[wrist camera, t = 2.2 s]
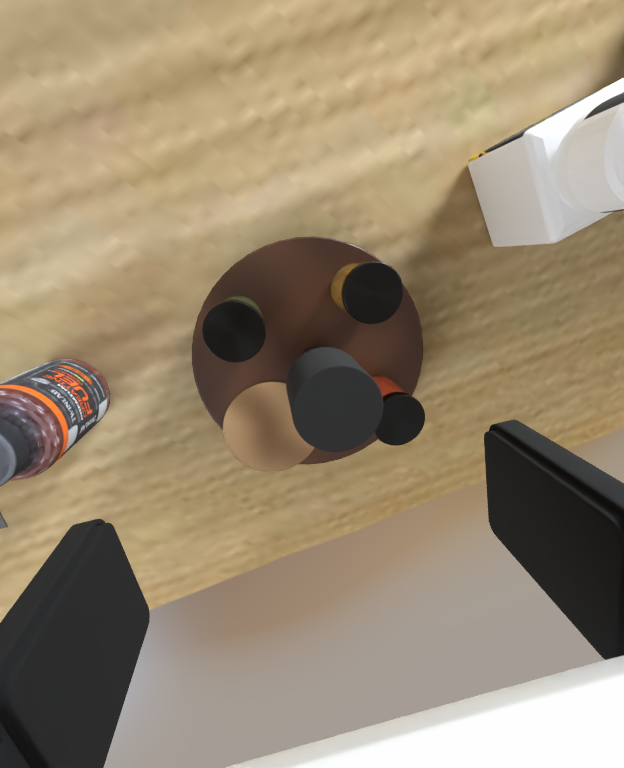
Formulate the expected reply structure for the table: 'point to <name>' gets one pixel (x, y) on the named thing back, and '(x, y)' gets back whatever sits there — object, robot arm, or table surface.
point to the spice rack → (309, 354)
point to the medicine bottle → (555, 173)
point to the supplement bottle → (47, 415)
